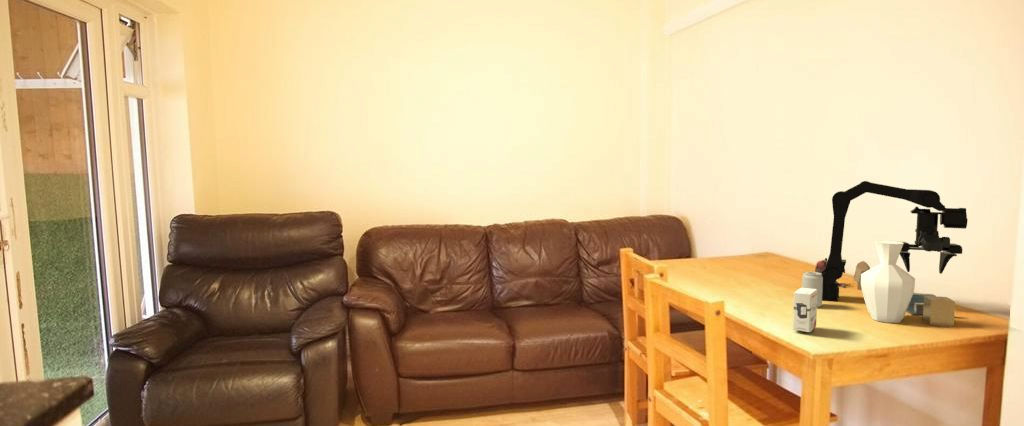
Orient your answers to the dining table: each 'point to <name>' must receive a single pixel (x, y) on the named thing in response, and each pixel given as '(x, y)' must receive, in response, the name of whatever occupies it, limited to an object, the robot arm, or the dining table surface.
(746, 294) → the dining table surface
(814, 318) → the ink box
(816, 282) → the beverage can
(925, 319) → the block
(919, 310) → the fixed jaw
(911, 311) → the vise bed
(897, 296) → the vase
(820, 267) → the stuffed fox
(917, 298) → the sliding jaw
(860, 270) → the stone
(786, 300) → the dining table surface
